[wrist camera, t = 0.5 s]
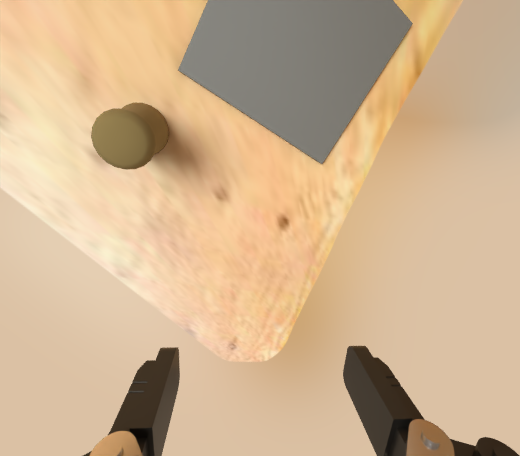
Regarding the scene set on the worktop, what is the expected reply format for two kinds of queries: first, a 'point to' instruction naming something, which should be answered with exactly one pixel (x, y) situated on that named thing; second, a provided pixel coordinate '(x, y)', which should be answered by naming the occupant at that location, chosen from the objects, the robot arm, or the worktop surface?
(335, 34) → the charcoal mat
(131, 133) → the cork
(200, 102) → the worktop surface
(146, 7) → the worktop surface
